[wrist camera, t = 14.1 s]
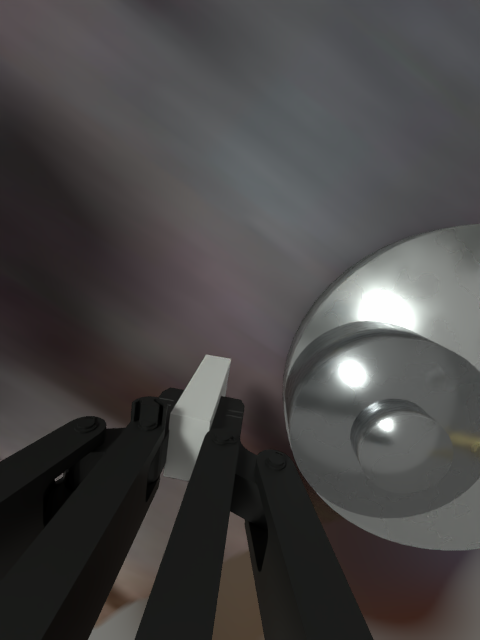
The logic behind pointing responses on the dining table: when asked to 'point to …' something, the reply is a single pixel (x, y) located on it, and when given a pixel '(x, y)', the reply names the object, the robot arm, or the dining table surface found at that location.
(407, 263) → the turntable
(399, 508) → the cover
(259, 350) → the dining table surface
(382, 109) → the dining table surface
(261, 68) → the dining table surface
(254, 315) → the dining table surface
